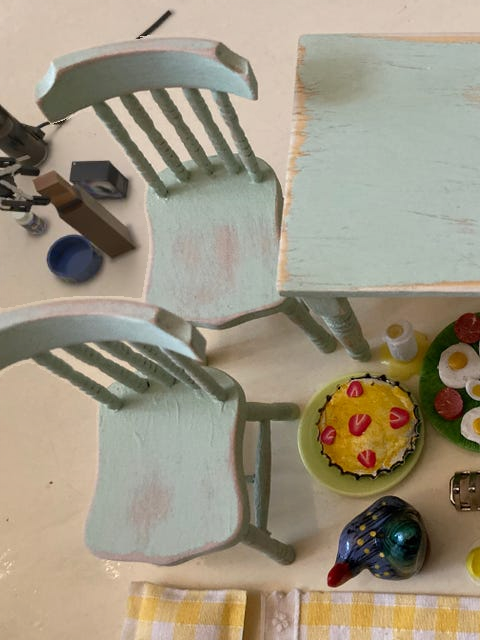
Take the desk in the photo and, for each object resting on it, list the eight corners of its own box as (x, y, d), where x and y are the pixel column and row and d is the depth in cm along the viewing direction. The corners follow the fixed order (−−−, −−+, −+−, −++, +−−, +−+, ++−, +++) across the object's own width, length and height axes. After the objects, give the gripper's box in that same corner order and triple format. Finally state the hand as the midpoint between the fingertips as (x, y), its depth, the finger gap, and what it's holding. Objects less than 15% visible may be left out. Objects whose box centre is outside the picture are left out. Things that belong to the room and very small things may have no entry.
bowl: (68, 237, 193) (58, 229, 188) (109, 247, 191) (100, 240, 187) (49, 277, 189) (38, 270, 185) (90, 288, 188) (81, 281, 184)
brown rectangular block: (104, 238, 192) (50, 195, 169) (127, 228, 193) (77, 183, 170) (112, 259, 190) (59, 217, 167) (136, 247, 191) (86, 205, 168)
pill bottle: (42, 236, 193) (23, 222, 185) (27, 233, 193) (6, 219, 185) (49, 221, 194) (29, 206, 186) (33, 218, 195) (13, 203, 187)
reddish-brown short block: (54, 199, 169) (30, 179, 160) (77, 188, 170) (54, 168, 161) (59, 211, 168) (35, 192, 159) (82, 201, 168) (60, 181, 160)
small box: (89, 200, 196) (67, 181, 186) (92, 180, 198) (70, 160, 188) (126, 199, 196) (106, 180, 185) (129, 179, 197) (109, 158, 187)
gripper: (-28, 195, 145) (57, 199, 157) (-46, 143, 149) (39, 151, 161) (-33, 218, 150) (50, 220, 162) (-51, 167, 153) (32, 173, 165)
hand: (44, 186), depth 161 cm, fingers open, 8 cm apart
